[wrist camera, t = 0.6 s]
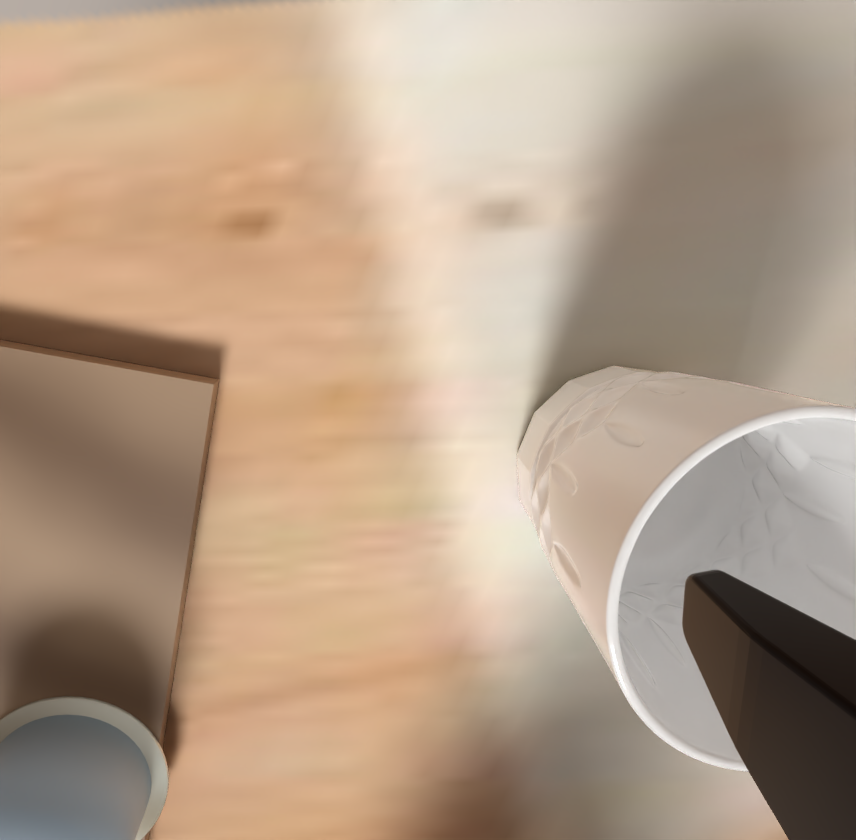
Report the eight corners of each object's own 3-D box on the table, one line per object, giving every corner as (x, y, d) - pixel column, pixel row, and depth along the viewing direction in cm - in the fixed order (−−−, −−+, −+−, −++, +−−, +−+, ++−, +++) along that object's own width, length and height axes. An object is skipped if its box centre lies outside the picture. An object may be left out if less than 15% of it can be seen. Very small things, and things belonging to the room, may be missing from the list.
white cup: (450, 501, 24) (528, 666, 14) (589, 299, 23) (776, 323, 13) (633, 613, 25) (817, 831, 16) (769, 429, 24) (1053, 537, 15)
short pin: (140, 858, 24) (101, 975, 20) (-23, 846, 23) (-97, 965, 19) (161, 723, 23) (124, 818, 19) (-9, 706, 22) (-84, 801, 18)
